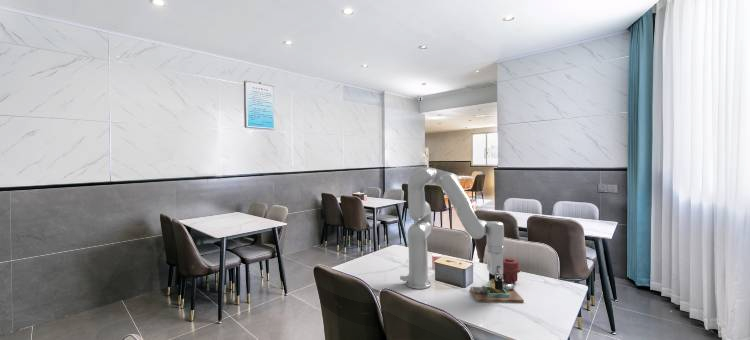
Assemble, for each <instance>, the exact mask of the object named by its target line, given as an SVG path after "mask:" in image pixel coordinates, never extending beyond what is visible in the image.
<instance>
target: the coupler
mask: <svg viewBox="0 0 750 340" xmlns="http://www.w3.org/2000/svg"><path fill="white" fill-rule="evenodd" d="M495 280H496V279H495V278H492V279H491V280H490V281H489V286H490V293H501V290H497V289H495Z"/></svg>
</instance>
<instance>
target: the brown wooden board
mask: <svg viewBox="0 0 750 340" xmlns="http://www.w3.org/2000/svg"><path fill="white" fill-rule="evenodd" d="M470 291H471V293H472V296H474V299H475V300H476V302H478V303H480V302H481V303H491V302H492V303H516V304H517V303H521V304H522V303H524V301H525V299H523V297H521V295H520V294H519V293H518V292H517V291H516V289H515V288H514V289H512V290H509V291H508V292H507V291H506V290H505V289H504V287H503V289H502V290H501V293H490V285H488V286H487V285H482V286H470Z"/></svg>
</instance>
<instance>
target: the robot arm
mask: <svg viewBox="0 0 750 340" xmlns="http://www.w3.org/2000/svg"><path fill="white" fill-rule="evenodd" d="M426 185H433V186H436V187H437V186H438V187H440V188H441V190H442V192H443V193H444V195H445V196H446V198H447V199H448V200H449V202H450V204H451V206H452V207H453V209H454V211H455V213H456V215H457V217H458V219H459V221H460V223H461V225H462V226H463V228H464V229H465V231H466V232H467V234H468V235H469V236H470V237H471V238H472V239H474V240H480V239H482V238H484V236H486V252H487V258H486V269H487V271H488V272H489V273H488V281H489V282H490V280H491V279H492V278H495V279H496V280H495V289H497V290H502V289H503V284H504V283H503V282H504V281H503V259H504V257H503V254H504V253H505V225H504V223H503V222H501V221H495V220H493V221H492V220H491V221H487V220H483V219H479V218H478V217H477V215H476V213H475V211H474V209H473V207H472V204H471V200H470V197H469V195H467V193H466V191H465V189H464V188H463V187H462V185H461V183H460V178H459V177H458V175H457V174H455V173H453V172H449V171H444V170H442V169H438V168H435V167H422V168H421V167H420V168H419V169H417V170H415V171H414V172H412V173H411V175H410V176H409V178H408V182H407V204H408V215H409V217H410V218H411V219H412V220H413V224H411V225H410V226H409V227H408V230H407V233H406V234H407V242H408V243H407V244H408V273H407V275H400V277H399V278H400V279H399V280H402V282H405V285H406V286H407V287H409V288H412V289H416V290H423V289H424V290H425V289H427V288H429V287H431V285H432V282H431V281H430V280H429V279H428V278H429V268H428V267H429V266H428V265H429V261H428V260H429V259H428V257H429V255H428V241H427V238H429V236H430V234H431V233H432V229H433V228H432V227H433V226H432V210H431V205H430V203H428V202H427V201H426V196H425V195H426V193H425V186H426Z"/></svg>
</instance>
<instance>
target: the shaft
mask: <svg viewBox="0 0 750 340" xmlns="http://www.w3.org/2000/svg"><path fill="white" fill-rule="evenodd" d="M503 287H504V289H505V290H506V291H507V292H508V291H509V290H512V289H514V290H515V285H514V283H513V284H508V283H503Z"/></svg>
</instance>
